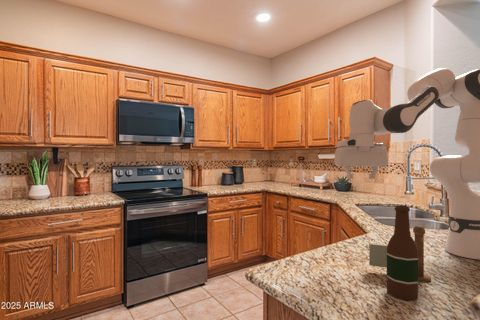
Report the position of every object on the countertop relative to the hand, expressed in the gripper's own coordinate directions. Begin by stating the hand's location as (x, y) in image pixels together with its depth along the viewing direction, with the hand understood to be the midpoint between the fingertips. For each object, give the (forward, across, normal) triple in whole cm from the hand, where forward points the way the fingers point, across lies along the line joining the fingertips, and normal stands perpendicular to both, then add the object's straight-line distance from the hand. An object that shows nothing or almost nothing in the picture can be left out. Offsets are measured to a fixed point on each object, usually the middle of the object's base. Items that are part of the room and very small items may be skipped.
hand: (361, 178), depth 104 cm
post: (+30, -7, +20) cm, 37 cm away
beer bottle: (+30, +6, +29) cm, 42 cm away
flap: (+28, 0, +16) cm, 32 cm away
